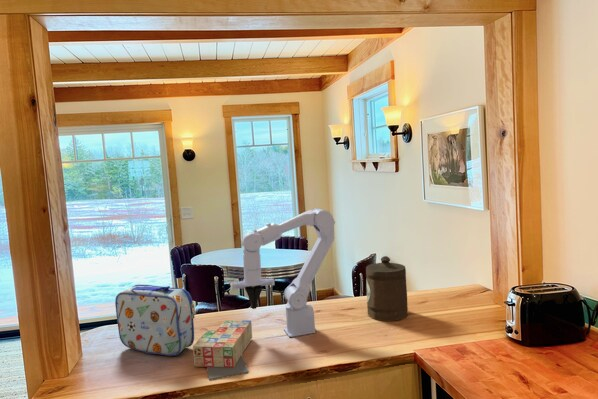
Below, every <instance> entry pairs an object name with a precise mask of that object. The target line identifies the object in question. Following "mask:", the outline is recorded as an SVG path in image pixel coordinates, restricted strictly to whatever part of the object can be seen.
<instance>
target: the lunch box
mask: <svg viewBox="0 0 598 399" xmlns="http://www.w3.org/2000/svg"><path fill="white" fill-rule="evenodd" d="M114 302H115V303H114V304H115V314H116V321H117V323H116V324H117V329H118V336H119V340H120V342H121V343H122V344H123V345H124V346H125V347H127V348H130V349H132V350H135V351H140V352H142V353H146V354H148V355H149V354H150V355H151V354H153V355H154V354H155V355H161V356H171V357H175V356H177V355H180V354H181V353H182V352H183V351H184V350H185V349H186V348H189V347H191V346H192V345H193V344H194V340H195V325H194V320H195V316H196V315H197V311H196V309H195V306H194V303H193V297H192V295H191V294H190V292H189V291H187V290H186V289H185V288H180V287H171V286H170V285H168V286H161V285H160V286H158V285H151V284H150V285H149V284H135V285H133V286H132V287H130V288H128V289H126V290H123V291H120V292H119V293H118V294H117V295H116V297H115V301H114Z"/></svg>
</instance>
